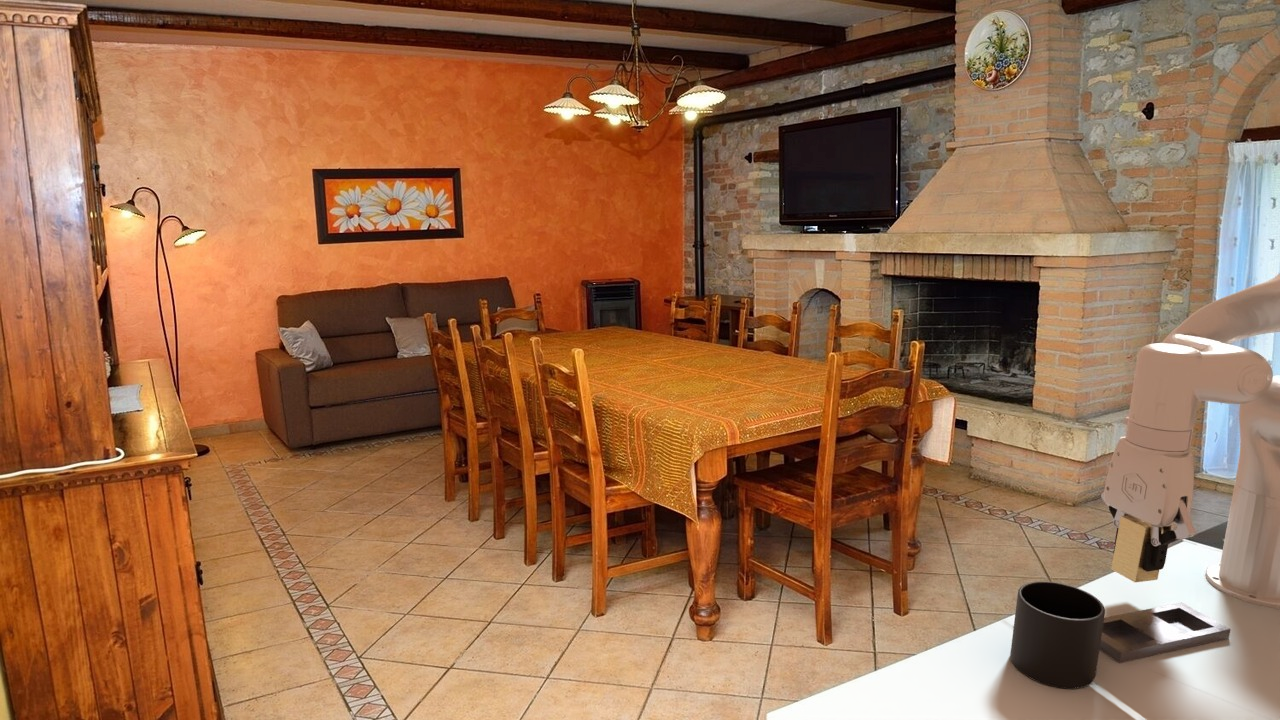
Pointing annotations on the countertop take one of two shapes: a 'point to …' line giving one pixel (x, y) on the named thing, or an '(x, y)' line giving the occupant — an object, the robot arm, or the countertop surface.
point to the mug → (1057, 634)
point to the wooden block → (1132, 550)
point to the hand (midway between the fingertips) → (1138, 560)
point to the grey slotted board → (1158, 632)
